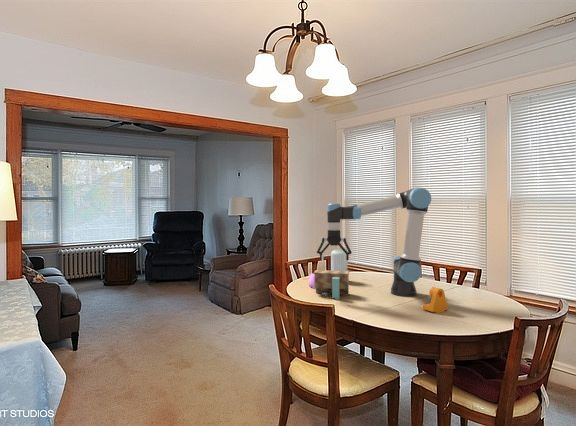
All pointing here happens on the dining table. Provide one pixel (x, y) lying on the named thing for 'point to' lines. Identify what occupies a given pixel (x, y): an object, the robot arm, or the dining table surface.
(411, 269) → the robot arm
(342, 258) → the vase
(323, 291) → the token
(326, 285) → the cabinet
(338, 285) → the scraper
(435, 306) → the bracket
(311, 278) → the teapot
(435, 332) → the dining table surface
